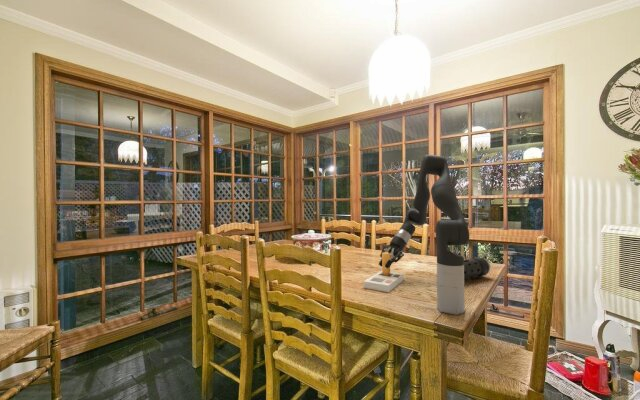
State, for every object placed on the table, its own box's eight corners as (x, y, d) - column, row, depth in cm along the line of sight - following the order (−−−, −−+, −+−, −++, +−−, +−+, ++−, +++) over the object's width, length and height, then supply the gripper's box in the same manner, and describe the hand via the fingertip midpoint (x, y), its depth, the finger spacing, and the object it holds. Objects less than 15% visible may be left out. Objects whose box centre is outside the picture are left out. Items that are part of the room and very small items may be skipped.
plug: (388, 278, 139) (388, 254, 139) (381, 277, 141) (380, 253, 141) (391, 276, 142) (391, 252, 142) (383, 275, 145) (383, 251, 144)
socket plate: (388, 292, 124) (388, 284, 124) (363, 287, 131) (363, 280, 131) (403, 279, 142) (403, 273, 142) (381, 276, 149) (381, 270, 149)
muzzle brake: (437, 281, 139) (437, 260, 139) (474, 274, 152) (474, 255, 152) (454, 287, 131) (454, 264, 131) (492, 278, 143) (492, 258, 143)
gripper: (387, 233, 151) (369, 259, 146) (407, 237, 139) (389, 264, 133) (394, 242, 154) (377, 267, 148) (414, 246, 142) (397, 274, 136)
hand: (383, 266), depth 141 cm, fingers closed on plug, 4 cm apart
